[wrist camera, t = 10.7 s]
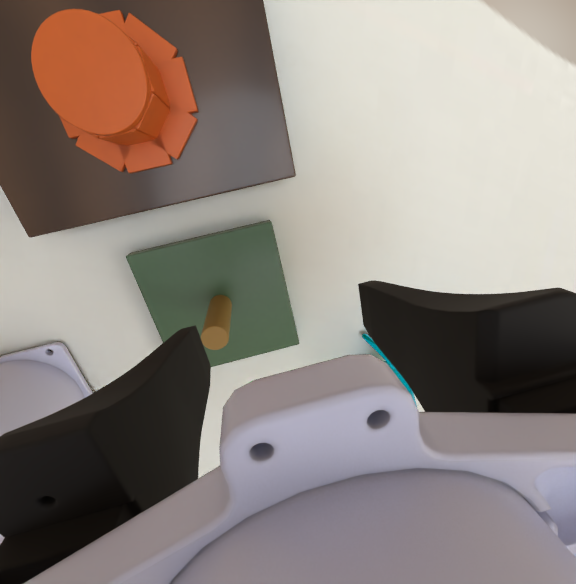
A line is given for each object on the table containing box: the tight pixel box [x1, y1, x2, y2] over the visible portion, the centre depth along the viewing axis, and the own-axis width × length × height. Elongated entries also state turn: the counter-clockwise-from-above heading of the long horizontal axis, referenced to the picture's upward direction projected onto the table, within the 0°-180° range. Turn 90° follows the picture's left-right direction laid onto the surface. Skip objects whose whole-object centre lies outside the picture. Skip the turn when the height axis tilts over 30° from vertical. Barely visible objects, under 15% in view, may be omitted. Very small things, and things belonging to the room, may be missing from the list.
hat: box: [31, 9, 198, 173], centre depth 14 cm, size 7×7×4 cm
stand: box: [0, 0, 296, 237], centre depth 17 cm, size 16×11×2 cm
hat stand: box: [126, 220, 299, 367], centre depth 20 cm, size 10×10×6 cm
